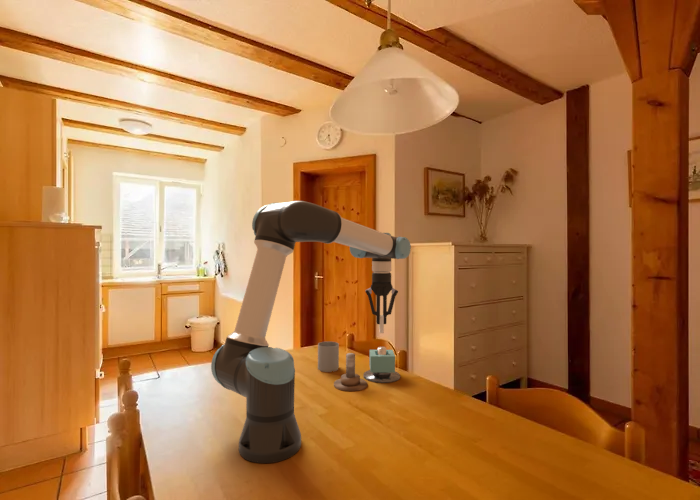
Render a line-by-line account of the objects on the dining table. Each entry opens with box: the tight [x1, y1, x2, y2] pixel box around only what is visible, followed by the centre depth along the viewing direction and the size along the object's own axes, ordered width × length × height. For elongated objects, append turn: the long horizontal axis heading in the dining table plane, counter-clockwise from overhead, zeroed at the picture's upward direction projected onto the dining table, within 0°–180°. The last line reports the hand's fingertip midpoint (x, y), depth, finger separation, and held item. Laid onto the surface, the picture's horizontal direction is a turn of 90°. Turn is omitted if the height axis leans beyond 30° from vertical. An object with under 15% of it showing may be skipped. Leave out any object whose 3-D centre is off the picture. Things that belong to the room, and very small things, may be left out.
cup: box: [317, 341, 340, 373], centre depth 155 cm, size 8×8×10 cm
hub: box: [363, 346, 401, 384], centre depth 146 cm, size 14×14×11 cm
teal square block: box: [369, 349, 396, 373], centre depth 146 cm, size 9×9×6 cm
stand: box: [333, 352, 368, 392], centre depth 137 cm, size 12×12×11 cm
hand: (381, 332), depth 149 cm, fingers closed
